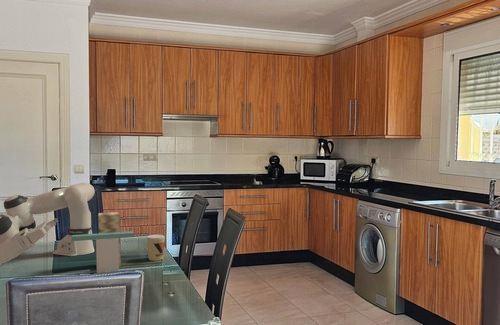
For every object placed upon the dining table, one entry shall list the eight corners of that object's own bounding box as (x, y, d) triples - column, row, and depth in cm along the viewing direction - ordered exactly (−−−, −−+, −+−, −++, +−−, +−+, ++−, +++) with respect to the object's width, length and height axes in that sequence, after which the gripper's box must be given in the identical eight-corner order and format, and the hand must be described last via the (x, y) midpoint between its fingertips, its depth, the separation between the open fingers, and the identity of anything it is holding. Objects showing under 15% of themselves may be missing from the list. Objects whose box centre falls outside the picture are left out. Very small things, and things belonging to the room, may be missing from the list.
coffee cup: (156, 261, 231) (156, 238, 231) (143, 259, 236) (142, 236, 236) (168, 258, 239) (168, 235, 238) (155, 255, 244) (155, 233, 243)
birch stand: (99, 268, 220) (98, 215, 219) (99, 264, 228) (98, 213, 227) (120, 266, 223) (119, 214, 222) (120, 262, 231) (119, 211, 230)
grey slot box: (96, 273, 210) (96, 240, 209) (97, 270, 217) (96, 237, 216) (119, 271, 213) (118, 238, 212) (118, 268, 220) (118, 235, 219)
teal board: (71, 241, 207) (71, 236, 207) (72, 239, 212) (72, 235, 212) (134, 237, 215) (134, 232, 215) (133, 235, 220) (133, 231, 220)
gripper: (35, 239, 214) (62, 223, 217) (28, 248, 195) (58, 230, 198) (27, 228, 213) (54, 212, 216) (20, 236, 193) (49, 219, 197)
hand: (56, 221), depth 207 cm, fingers open, 8 cm apart
